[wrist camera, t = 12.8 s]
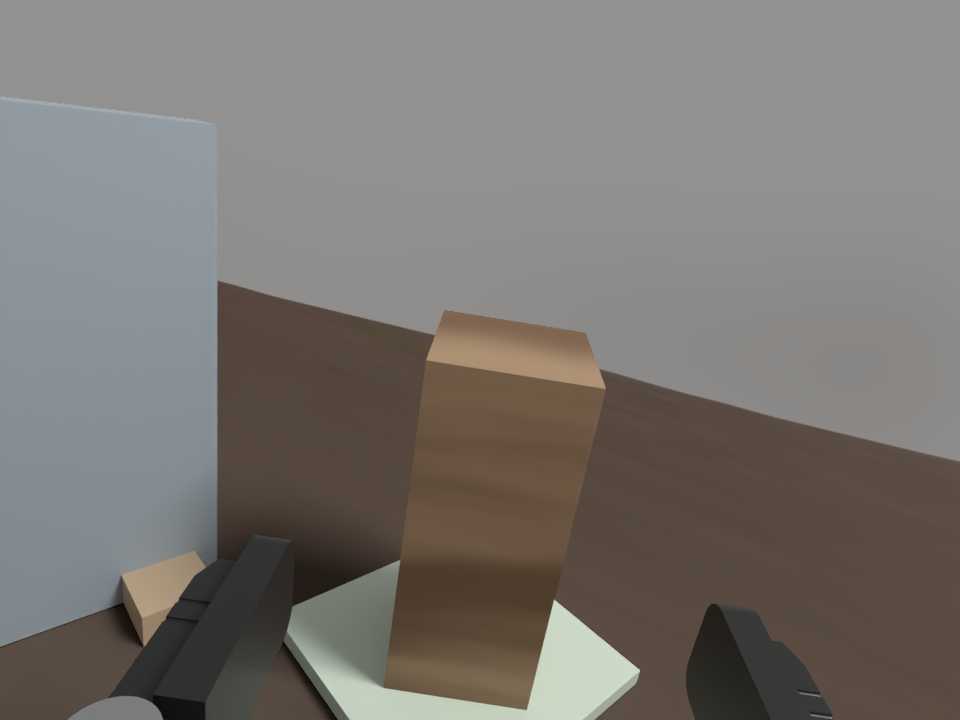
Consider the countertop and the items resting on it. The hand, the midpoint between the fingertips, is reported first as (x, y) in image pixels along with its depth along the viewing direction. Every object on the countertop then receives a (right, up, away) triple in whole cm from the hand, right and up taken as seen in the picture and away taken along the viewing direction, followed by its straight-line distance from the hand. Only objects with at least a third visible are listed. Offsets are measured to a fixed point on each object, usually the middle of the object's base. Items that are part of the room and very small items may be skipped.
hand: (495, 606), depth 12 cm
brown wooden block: (-1, -5, +9) cm, 11 cm away
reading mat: (-1, -6, +10) cm, 11 cm away
